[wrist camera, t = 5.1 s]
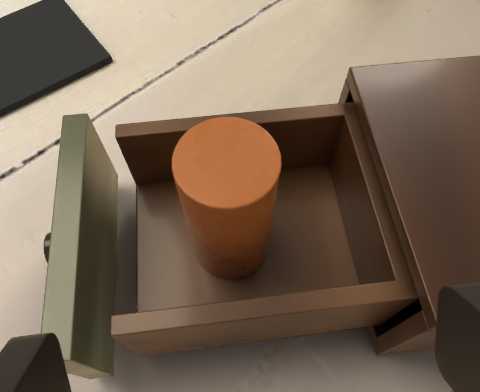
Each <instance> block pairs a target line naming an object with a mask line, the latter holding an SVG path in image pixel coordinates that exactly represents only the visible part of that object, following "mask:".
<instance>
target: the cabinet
mask: <svg viewBox="0 0 480 392" xmlns="http://www.w3.org/2000/svg"><path fill="white" fill-rule="evenodd" d="M350 102H354V103H355V106H356V109H357V112H358V115H359V119H360V122H361V125H362V128H363V131H364V134H365V137H366V140H367V143H368V146H369V149H370V152H371V155H372V158H373V161H374V164H375V167H376V170H377V173H378V176H379V179H380V182H381V185H382V188H383V191H384V194H385V197H386V200H387V203H388V207H389V210H390V213H391V216H392V219H393V222H394V225H395V228H396V231H397V234H398V237H399V240H400V243H401V246H402V249H403V252H404V255H405V258H406V261H407V264H408V267H409V270H410V273H411V276H412V279H413V282H414V285H415V288H416V291H417V295H418V298H419V299H418V300H416V301H415V302H413V303H412V304H410V305H409V306H407V307H406V308H404V309H403V310H401V311H400V312H399V313H397V314H396V315H394V316H393V317H391V318H390V319H388V320H387V321H385V322H383V323H382V324H380V325H376V326H369V327H368V329H369V332H370V336H371V340H372V344H373V348H374V351H375V355H376V356H382V355H390V354H397V353H405V352H412V351H420V350H427V349H435V338H436V322H437V306H438V295H439V291H440V290H441V288H442V287H444V286H451V285H460V284H468V283H476V282H480V56H470V57H459V58H448V59H437V60H426V61H415V62H404V63H393V64H382V65H371V66H360V67H350V68H349V71H348V74H347V78H346V80H345V83H344V86H343V89H342V93H341V96H340V99H339V102H338V104H339V103H350Z"/></svg>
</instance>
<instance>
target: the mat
mask: <svg viewBox="0 0 480 392" xmlns="http://www.w3.org/2000/svg"><path fill="white" fill-rule="evenodd" d="M110 62H112V58H111V56H110V55H109V53H108V52H107V51H106V50H105V49H104V47H103V46H102V45H101V44H100V43H99V42H98V40H97V39H96V38H95V37H94V36H93V34H92V33H91V32H90V31H89V30H88V29H87V27H86V26H85V25H84V24H83V23H82V21H81V20H80V19H79V18H78V17H77V15H76V14H75V13H74V12H73V11H72V10H71V8H70V7H69V6H68V5H67V4H66V2H65V1H64V0H42V1H39V2H37V3H35V4H32V5H30V6H28V7H25V8H23V9H20V10H18V11H16V12H13V13H11V14H8V15H6V16H4V17H1V18H0V116H1V115H3V114H5V113H8V112H10V111H12V110H14V109H16V108H18V107H20V106H22V105H24V104H26V103H28V102H30V101H32V100H34V99H36V98H38V97H40V96H42V95H44V94H46V93H48V92H50V91H52V90H54V89H56V88H59V87H61V86H63V85H65V84H67V83H69V82H71V81H73V80H75V79H77V78H79V77H81V76H83V75H85V74H87V73H89V72H91V71H93V70H95V69H97V68H99V67H101V66H103V65H105V64H107V63H110Z"/></svg>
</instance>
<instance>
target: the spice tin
mask: <svg viewBox="0 0 480 392" xmlns="http://www.w3.org/2000/svg"><path fill="white" fill-rule="evenodd" d="M281 165H282V160H281V154H280V150H279V148H278V145H277V143H276V142H275V140H274V139H273V137H272V136H271V135H270V134H269V133H268V132H267V131H266V130H265V129H264V128H262V127H261V126H259V125H257V124H256V123H254V122H251V121H249V120H246V119H242V118H236V117H218V118H213V119H209V120H206V121H203V122H201V123H199V124H197V125H195V126H194V127H192V128H191V129H189V130H188V131H187V132H186V133H185V134H184V135H183V136H182V137H181V139H180V140H179V141H178V143H177V145H176V147H175V149H174V152H173V156H172V173H173V177H174V180H175V184H176V188H177V191H178V195H179V199H180V203H181V206H182V210H183V214H184V217H185V221H186V225H187V229H188V232H189V236H190V240H191V243H192V247H193V251H194V254H195V257H196V259H197V261H198V263H199V264H200V265H201V266H202V268H204V269H205V270H206V271H207V272H209V273H210V274H212V275H214V276H217V277H219V278H224V279H236V278H241V277H244V276H246V275H249V274H250V273H252V272H253V271H255V270H256V269H257V268H258V267H259V266H260V265H261V264H262V262H263V261H264V259H265V257H266V254H267V251H268V245H269V239H270V233H271V227H272V221H273V215H274V209H275V203H276V197H277V191H278V185H279V179H280V173H281Z"/></svg>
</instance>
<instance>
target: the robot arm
mask: <svg viewBox="0 0 480 392" xmlns="http://www.w3.org/2000/svg"><path fill="white" fill-rule="evenodd" d="M435 356H436V361H437V364H438V367H439V370H440V372H441V374H442V376H443V378H444V379H445V381H446V382H447V383H448V385H449V386H450V387H451V388H452V390H453V391H454V392H480V282H476V283H468V284H460V285H451V286H444V287H442V288H441V290H440V291H439V295H438V306H437V322H436V338H435ZM0 392H71V388H70V384H69V380H68V376H67V372H66V368H65V363H64V359H63V355H62V351H61V347H60V343H59V340H58V338H57V336H56V335H55V334H54V333H44V334H36V335H28V336H19V337H13V338H11V339H10V340H9V341H8V342H7V344H6V345H5V347H4V348H3V349H2V351H1V352H0Z"/></svg>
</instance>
